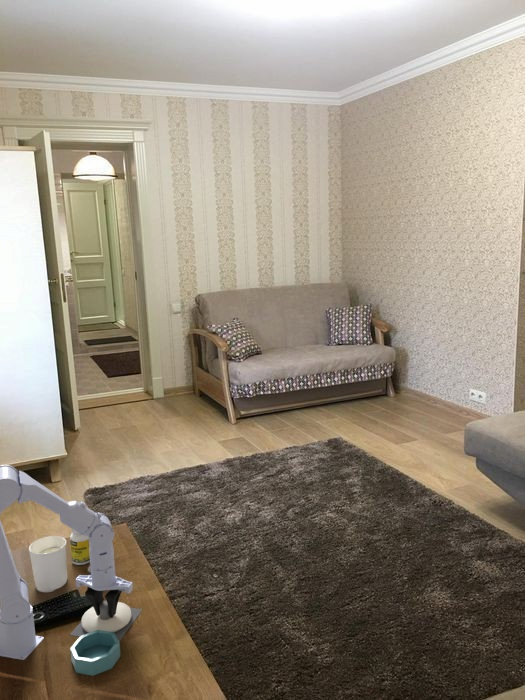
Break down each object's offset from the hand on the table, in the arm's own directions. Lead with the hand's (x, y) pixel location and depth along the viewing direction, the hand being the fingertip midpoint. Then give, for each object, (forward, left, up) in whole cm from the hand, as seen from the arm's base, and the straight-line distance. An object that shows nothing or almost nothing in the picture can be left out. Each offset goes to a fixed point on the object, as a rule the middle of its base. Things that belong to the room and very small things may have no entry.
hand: (106, 614), depth 149 cm
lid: (0, 0, -1) cm, 1 cm away
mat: (0, 0, -3) cm, 3 cm away
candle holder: (-24, +13, -3) cm, 27 cm away
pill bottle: (-22, +26, -3) cm, 34 cm away
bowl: (+4, -12, -3) cm, 13 cm away
